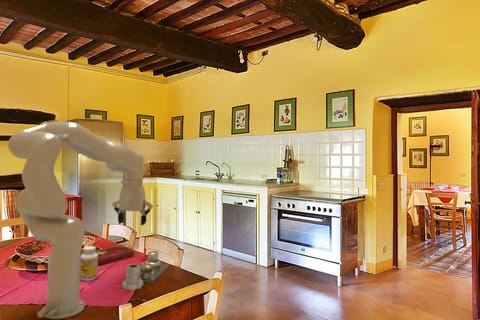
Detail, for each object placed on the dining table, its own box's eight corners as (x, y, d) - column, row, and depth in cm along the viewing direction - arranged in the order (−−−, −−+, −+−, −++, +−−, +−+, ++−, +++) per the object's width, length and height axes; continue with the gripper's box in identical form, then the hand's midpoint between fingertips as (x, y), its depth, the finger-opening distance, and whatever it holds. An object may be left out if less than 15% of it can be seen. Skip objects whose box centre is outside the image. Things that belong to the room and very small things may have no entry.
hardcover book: (134, 257, 170) (134, 249, 170) (95, 267, 153) (95, 258, 153) (120, 252, 177) (121, 244, 177) (81, 261, 160) (82, 253, 160)
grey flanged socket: (137, 291, 129) (138, 270, 129) (118, 289, 130) (119, 268, 130) (145, 283, 136) (146, 263, 136) (128, 281, 137) (128, 262, 137)
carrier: (152, 282, 137) (152, 264, 137) (124, 280, 139) (125, 262, 139) (168, 267, 156) (169, 251, 156) (143, 265, 158) (144, 249, 157)
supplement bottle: (76, 279, 138) (77, 248, 138) (90, 274, 144) (90, 244, 144) (87, 282, 135) (88, 250, 135) (100, 277, 141) (101, 247, 140)
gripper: (109, 183, 138) (108, 224, 139) (149, 185, 136) (148, 227, 137) (117, 181, 146) (116, 221, 146) (156, 183, 144) (155, 223, 144)
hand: (132, 223), depth 141 cm, fingers open, 9 cm apart
